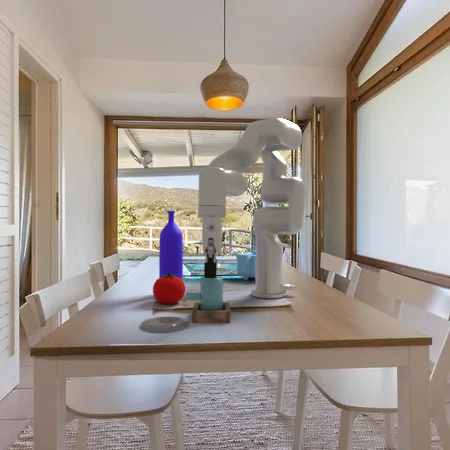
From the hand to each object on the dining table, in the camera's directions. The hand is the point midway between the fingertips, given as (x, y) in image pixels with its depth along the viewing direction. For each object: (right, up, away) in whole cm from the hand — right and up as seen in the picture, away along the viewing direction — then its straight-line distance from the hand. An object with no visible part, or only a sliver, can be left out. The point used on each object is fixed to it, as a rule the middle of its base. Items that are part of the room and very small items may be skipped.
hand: (210, 275), depth 101 cm
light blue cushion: (+15, -11, +64) cm, 67 cm away
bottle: (-15, -11, +31) cm, 36 cm away
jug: (-2, -12, +1) cm, 12 cm away
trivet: (-12, -13, -6) cm, 18 cm away
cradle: (0, -12, +1) cm, 12 cm away
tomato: (-14, -12, +18) cm, 26 cm away
